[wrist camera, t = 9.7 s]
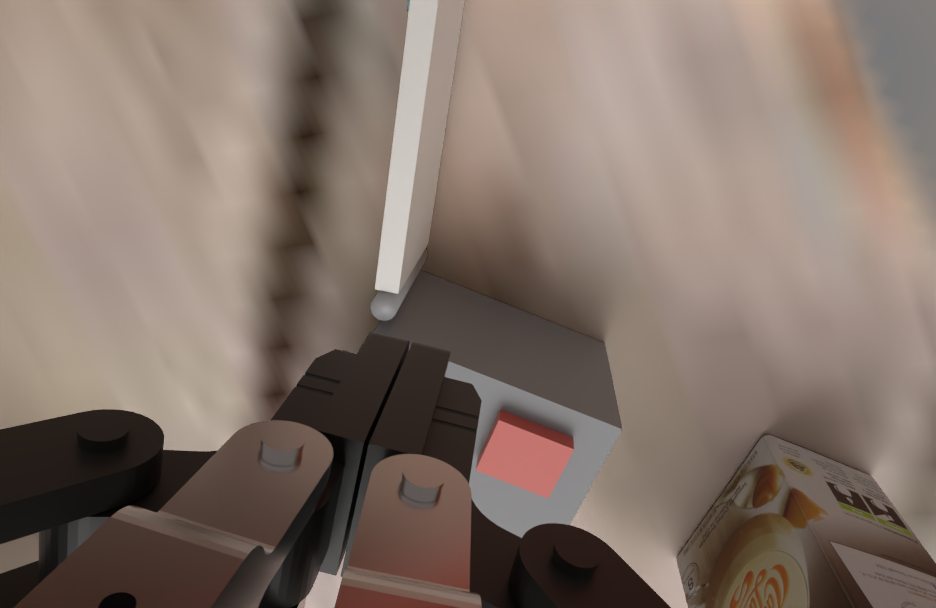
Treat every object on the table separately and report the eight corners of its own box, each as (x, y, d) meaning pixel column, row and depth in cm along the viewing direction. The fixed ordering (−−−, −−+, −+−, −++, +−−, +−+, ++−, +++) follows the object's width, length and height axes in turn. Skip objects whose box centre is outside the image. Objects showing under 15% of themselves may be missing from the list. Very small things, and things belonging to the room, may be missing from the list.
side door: (472, -41, 27) (448, -70, 21) (426, 265, 32) (394, 323, 25) (435, -47, 27) (400, -78, 21) (395, 259, 32) (356, 315, 26)
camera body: (528, 493, 36) (523, 622, 28) (329, 416, 36) (266, 524, 28) (604, 343, 33) (624, 440, 25) (385, 256, 33) (332, 325, 24)
